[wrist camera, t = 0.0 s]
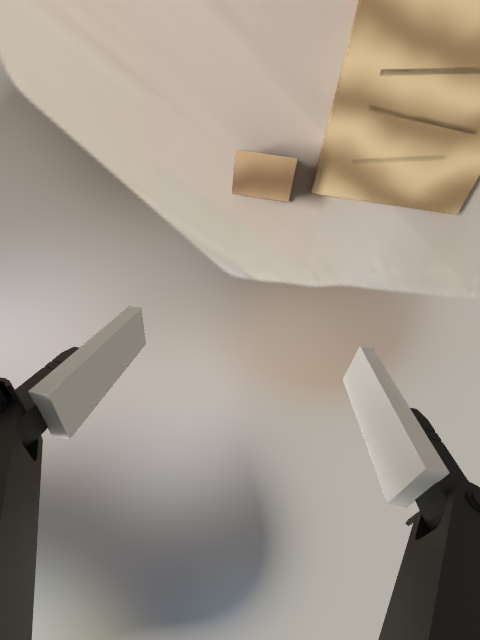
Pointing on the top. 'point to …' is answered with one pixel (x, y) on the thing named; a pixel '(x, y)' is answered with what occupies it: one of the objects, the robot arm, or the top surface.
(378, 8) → the board
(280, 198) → the block
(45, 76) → the top surface
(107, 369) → the robot arm
